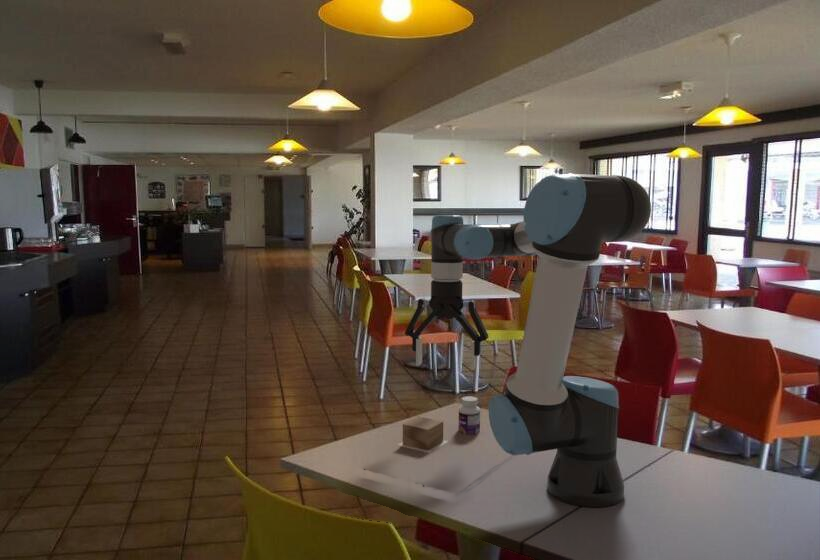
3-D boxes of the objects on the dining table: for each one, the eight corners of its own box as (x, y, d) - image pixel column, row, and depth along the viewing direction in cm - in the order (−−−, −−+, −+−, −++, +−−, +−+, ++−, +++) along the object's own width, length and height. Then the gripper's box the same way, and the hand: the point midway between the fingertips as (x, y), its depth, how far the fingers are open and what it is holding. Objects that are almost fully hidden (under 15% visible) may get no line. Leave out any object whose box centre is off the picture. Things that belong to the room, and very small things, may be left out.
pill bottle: (455, 433, 170) (455, 396, 169) (474, 431, 172) (475, 394, 171) (463, 440, 165) (463, 402, 164) (483, 438, 167) (483, 400, 166)
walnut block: (443, 441, 161) (443, 421, 160) (428, 450, 155) (428, 429, 154) (418, 436, 164) (418, 416, 164) (402, 444, 158) (402, 424, 158)
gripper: (501, 280, 160) (499, 367, 162) (402, 276, 168) (402, 359, 170) (495, 283, 153) (493, 374, 155) (392, 279, 161) (392, 365, 163)
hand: (445, 366), depth 163 cm, fingers open, 13 cm apart
